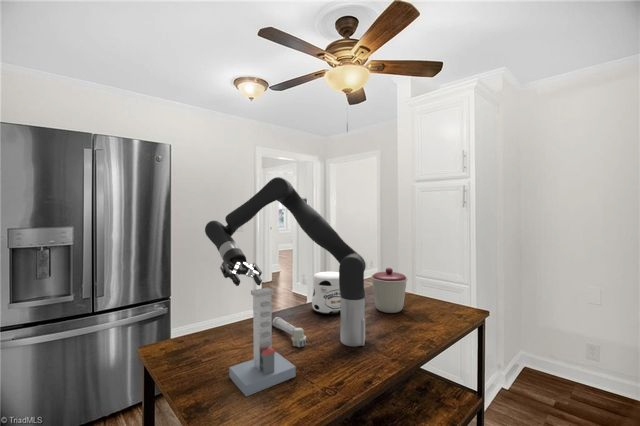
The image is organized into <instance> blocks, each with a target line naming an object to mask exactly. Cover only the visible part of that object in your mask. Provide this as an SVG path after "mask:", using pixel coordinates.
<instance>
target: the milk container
mask: <svg viewBox="0 0 640 426" xmlns="http://www.w3.org/2000/svg"><path fill="white" fill-rule="evenodd" d="M312 293H313V294H312V297H311V306H312V309H313V310H314V311H315V312H317V313H318V314H323V315H336V314H340V288H339V271H320V272H316V273H314V275H313V292H312Z"/></svg>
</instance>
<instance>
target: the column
mask: <svg viewBox="0 0 640 426" xmlns="http://www.w3.org/2000/svg"><path fill="white" fill-rule="evenodd" d="M250 295H251V296H252V297H253V300H252V301H253V303H252V304H253V305H252V307H253V309H252V310H253V314H252V315H253V316H252V317H253V319H252V321H253V323H252V325H253V330H252V331H253V340H252V341H253V359H254V367H255V368H256V369H257V370H258V371H259V372H260V371H263V354H262V351H264V350H267V349H270V348H273V347H272V345H273V344H272V342H273V341H272V334H273V333H272V326H273V325H272V320H273V318H272V317H273V316H272V295H275V290H274V289H272V288H270V287H262V288H258V289H253V290H252V289H251V290H250Z"/></svg>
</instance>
